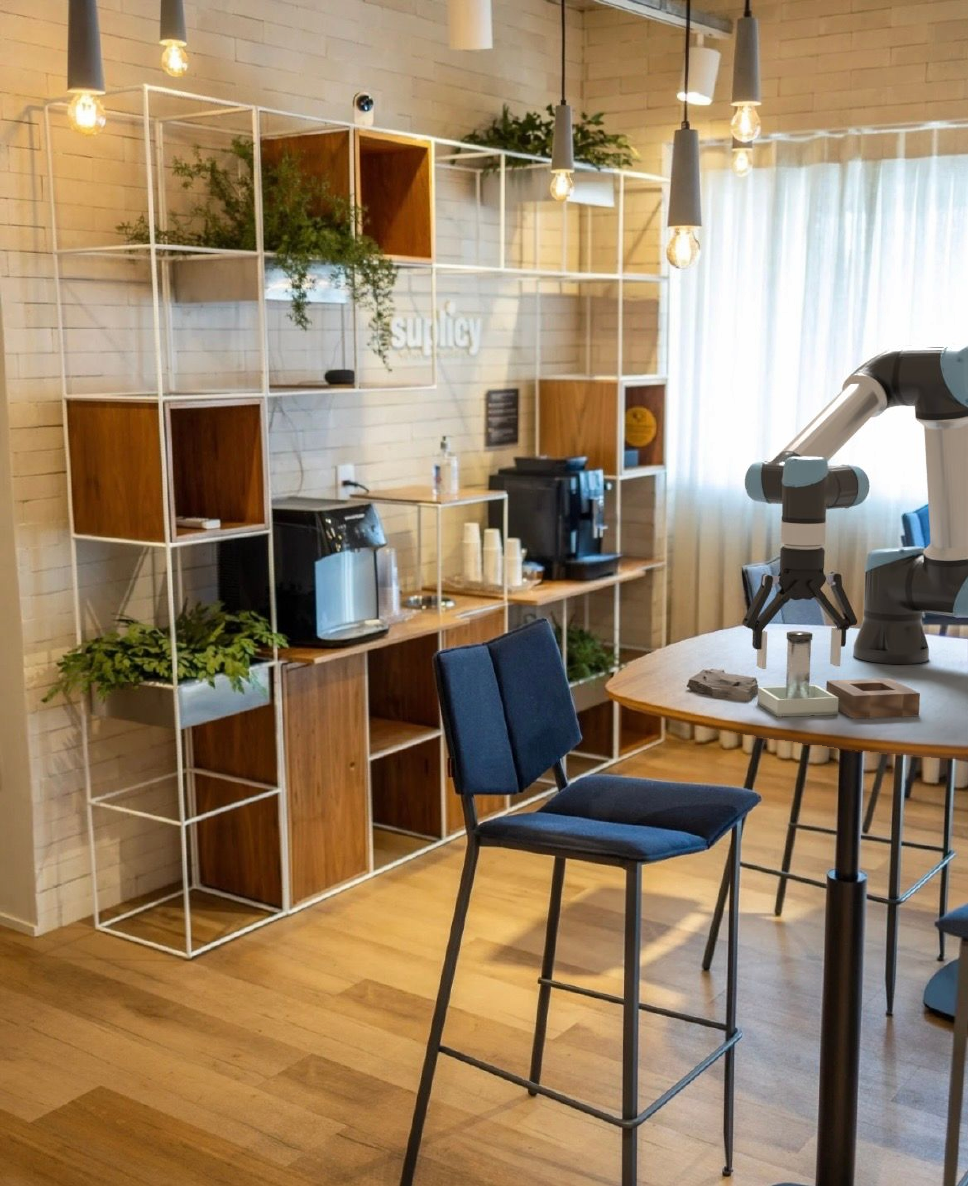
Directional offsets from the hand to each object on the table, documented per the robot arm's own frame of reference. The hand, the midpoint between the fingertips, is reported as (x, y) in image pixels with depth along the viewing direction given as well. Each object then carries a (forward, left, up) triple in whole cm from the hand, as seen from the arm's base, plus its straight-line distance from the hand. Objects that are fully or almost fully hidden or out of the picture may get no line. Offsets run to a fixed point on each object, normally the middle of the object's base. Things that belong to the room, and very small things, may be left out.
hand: (798, 666), depth 242 cm
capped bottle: (0, 0, -7) cm, 7 cm away
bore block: (-13, +2, -8) cm, 15 cm away
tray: (0, 0, -8) cm, 8 cm away
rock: (+8, -15, -8) cm, 19 cm away
